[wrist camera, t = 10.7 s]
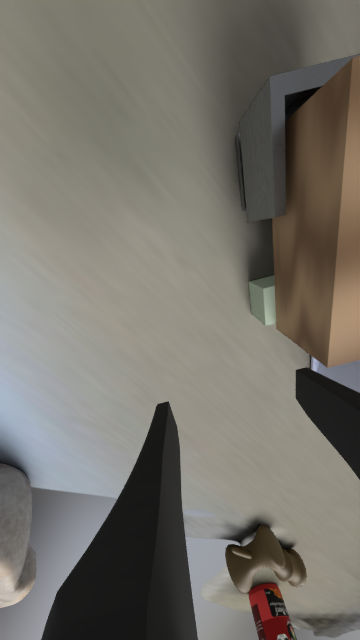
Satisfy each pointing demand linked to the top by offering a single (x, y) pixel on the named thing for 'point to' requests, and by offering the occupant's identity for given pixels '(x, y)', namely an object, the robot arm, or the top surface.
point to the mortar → (15, 536)
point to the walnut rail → (322, 224)
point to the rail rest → (263, 299)
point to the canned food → (270, 613)
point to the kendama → (264, 561)
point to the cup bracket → (274, 137)
